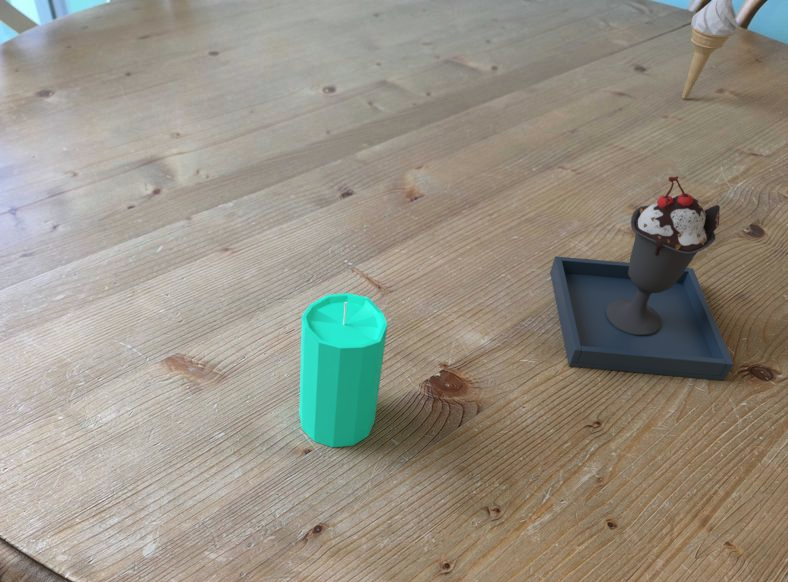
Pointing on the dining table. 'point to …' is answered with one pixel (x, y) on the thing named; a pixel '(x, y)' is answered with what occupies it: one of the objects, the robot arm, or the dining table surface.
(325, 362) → the candle
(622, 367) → the tray
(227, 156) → the dining table surface
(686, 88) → the ice cream cone
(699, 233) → the sundae
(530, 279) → the dining table surface
